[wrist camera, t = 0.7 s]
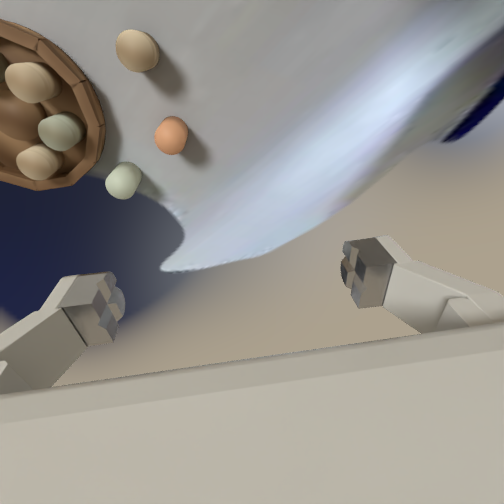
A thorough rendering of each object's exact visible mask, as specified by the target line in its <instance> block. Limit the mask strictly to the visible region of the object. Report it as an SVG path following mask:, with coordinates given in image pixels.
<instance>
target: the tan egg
mask: <svg viewBox="0 0 504 504" xmlns="http://www.w3.org/2000/svg"><path fill="white" fill-rule="evenodd" d="M116 52H117V55H118V58H119V60H120V61H121V63H122V64H123V65H124V66H125V67H126V68H127V69H129V70H131V71H133V72H143V71H146V70H149V69H152V68H154V67H155V66H156V65H157V63H158V61H159V57H160V52H159V47H158V45H157V43H156V41H155V40H154V38H153V37H152V36H150V35H149V34H147V33H145V32H142V31H136V30H125V31H123V32H122V33H121V34H120V35H119V36H118V38H117V41H116Z"/></svg>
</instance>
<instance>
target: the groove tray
mask: <svg viewBox="0 0 504 504" xmlns="http://www.w3.org/2000/svg"><path fill="white" fill-rule="evenodd" d="M105 133H106V130H105V120H104V115H103V111H102V108H101V105H100V102H99V100H98V97H97V95H96V93H95V91H94V89H93V87H92V86H91V84H90V82H89V80H88V79H87V78H86V76H85V75H84V73H83V72H82V71H81V69H80V68H79V67H78V66H77V65H76V64H75V62H74V61H73V60H72V59H71V58H70V57H69V56H68V55H67V54H66V53H65V52H63V51H62V50H61V49H60V48H59V47H57V46H56V45H55V44H54V43H52V42H51V41H50V40H48V39H46V38H45V37H43V36H42V35H40V34H39V33H37V32H35V31H33V30H31V29H29V28H27V27H24V26H21V25H19V24H16V23H13V22H9V21H5V20H2V19H0V180H1V181H4V182H8V183H11V184H15V185H18V186H22V187H25V188H29V189H32V190H38V191H40V190H46V189H52V188H59V187H66V186H72V185H74V184H75V183H76V182H77V181H78V180H79V179H80V178H81V177H82V176H83V175H84V174H85V173H87V172H88V171H89V170H90V169H91V168H92V167H93V166H94V165H95V164H96V162H97V161H98V160H99V159H100V156H101V153H102V151H103V147H104V143H105Z"/></svg>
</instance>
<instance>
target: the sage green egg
mask: <svg viewBox="0 0 504 504" xmlns="http://www.w3.org/2000/svg"><path fill="white" fill-rule="evenodd" d="M141 179H142V173H141V171H140V169H139V168H138V167H137V166H136V165H135V164H133V163H131V162H121V163H119V164H118V165H117V166H116V168H115V169H114V170H113V171H112V172H111V174H110V175H109V176H108V177H107V179H106V182H105V184H106V188H107V190H108V192H109V193H110V194H111V195H112V196H114V197H116V198H119V199H128V198H130V197H131V196H132V195H133V194H134V192H135V190H136V189H137V187H138V185H139V183H140V181H141Z"/></svg>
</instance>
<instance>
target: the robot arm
mask: <svg viewBox="0 0 504 504" xmlns="http://www.w3.org/2000/svg"><path fill="white" fill-rule="evenodd" d="M343 253H344V255H345V258H344V259H343V260H342V261H341V276H342V279H343V282H344V284H345V285H346V287H348V288H350V289H352V290H351V296H352V298H353V300H354V302H355V303H356V305H357V307H358V308H367V307H376V306H383V307H384V308H385V309H386V310H388V311H390V312H391V313H392V314H394V315H395V316H397V317H398V318H400V319H401V320H403V321H404V322H405V323H407V324H408V325H410V326H411V327H413V328H414V329H416V330H417V331H419V332H420V333H421V334H417V335H411V336H404V337H397V338H390V339H383V340H377V341H369V342H363V343H355V344H348V345H341V346H335V347H328V348H320V349H313V350H306V351H300V352H292V353H285V354H278V355H271V356H264V357H257V358H250V359H243V360H236V361H230V362H223V363H215V364H209V365H202V366H195V367H188V368H181V369H174V370H168V371H160V372H153V373H146V374H140V375H132V376H125V377H118V378H111V379H105V380H97V381H91V382H83V383H76V384H69V385H62V386H56V387H51V386H52V385H53V384H54V383H55V382H56V381H57V380H58V379H59V378H60V377H61V376H62V375H63V374H64V373H65V372H66V370H67V369H68V368H69V367H70V366H71V365H72V364H73V363H74V362H75V361H76V360H77V359H78V358H79V357H80V356H81V355H82V353H83V352H84V351H85V350H86V349H87V347H88V346H95V345H101V344H107V343H113V342H114V340H115V337H116V334H117V331H118V328H119V325H118V323H117V321H118V320H119V319H120V318H121V317H123V314H124V310H125V300H124V296H123V293H122V291H121V290H120V289H118V288H117V287H115V283H116V278H115V276H114V275H113V273H111V272H100V273H91V274H82V275H73V276H66V277H63V278H61V280H60V281H59V283H58V284H57V285H56V287H55V288H54V290H53V291H52V293H51V294H50V296H49V297H48V299H47V300H46V302H45V303H44V304H43V306H42V307H41V309H40V310H39V311H35V312H33V313H31V314H30V315H28V316H27V317H25V318H24V319H22V320H21V321H19V322H18V323H16V324H15V325H13V326H12V327H10V328H8V329H7V330H6V331H4V332H2V333H1V334H0V504H504V297H503V296H502V295H501V294H500V293H499V292H497V291H495V290H492V289H490V288H487V287H485V286H482V285H480V284H477V283H475V282H472V281H469V280H467V279H464V278H462V277H459V276H457V275H454V274H451V273H449V272H446V271H444V270H441V269H439V268H436V267H433V266H431V265H428V264H426V263H423V262H421V261H413V260H412V259H411V258H410V257H409V255H408V254H406V252H405V251H404V250H403V249H402V248H401V247H400V246H399V245H398V244H397V243H396V242H395V241H394V240H393V239H392V238H391V237H390V236H388V235H384V236H378V237H373V238H367V239H360V240H353V241H345V243H344V245H343Z"/></svg>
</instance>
